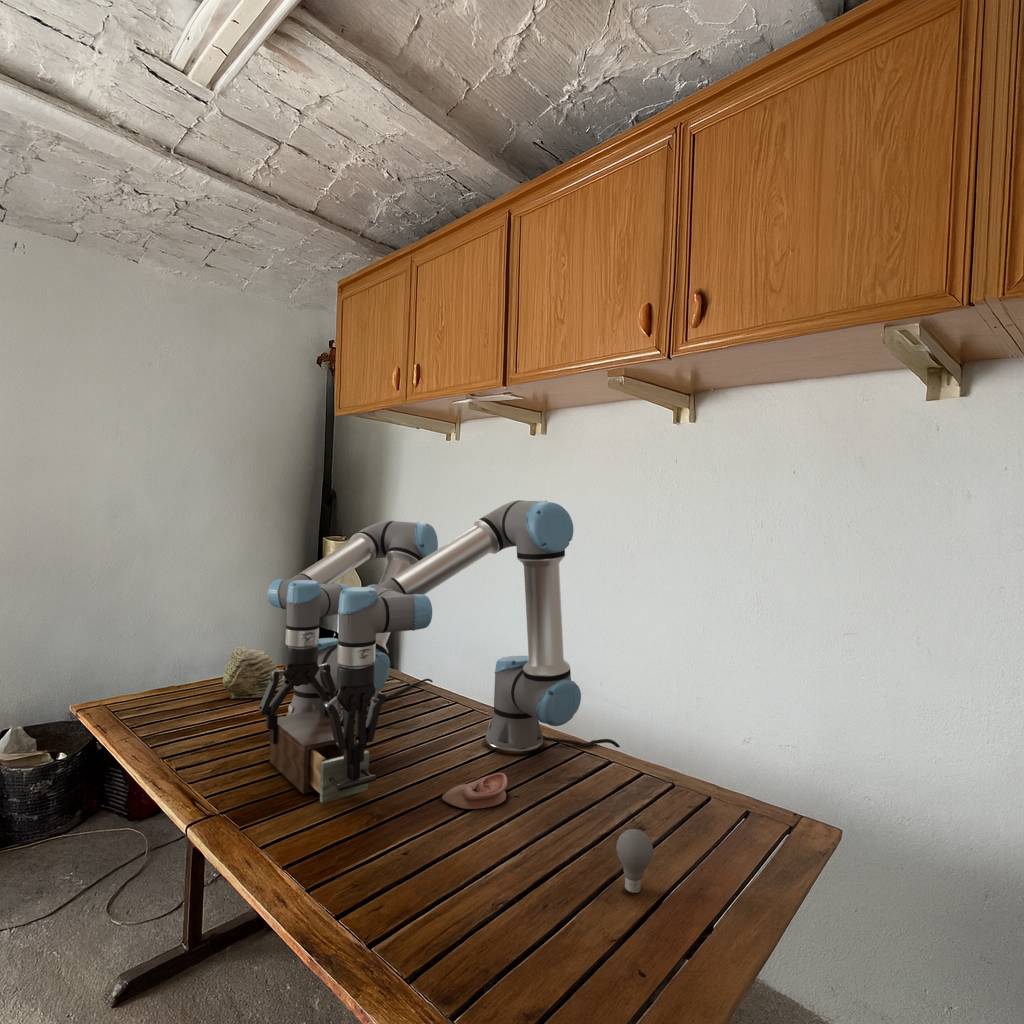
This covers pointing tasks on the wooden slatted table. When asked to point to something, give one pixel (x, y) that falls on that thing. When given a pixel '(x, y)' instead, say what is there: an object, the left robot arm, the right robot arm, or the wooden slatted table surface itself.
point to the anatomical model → (478, 792)
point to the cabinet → (299, 745)
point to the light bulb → (634, 857)
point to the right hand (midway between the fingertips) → (353, 778)
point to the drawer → (335, 774)
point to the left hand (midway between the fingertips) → (298, 736)
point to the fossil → (249, 673)
